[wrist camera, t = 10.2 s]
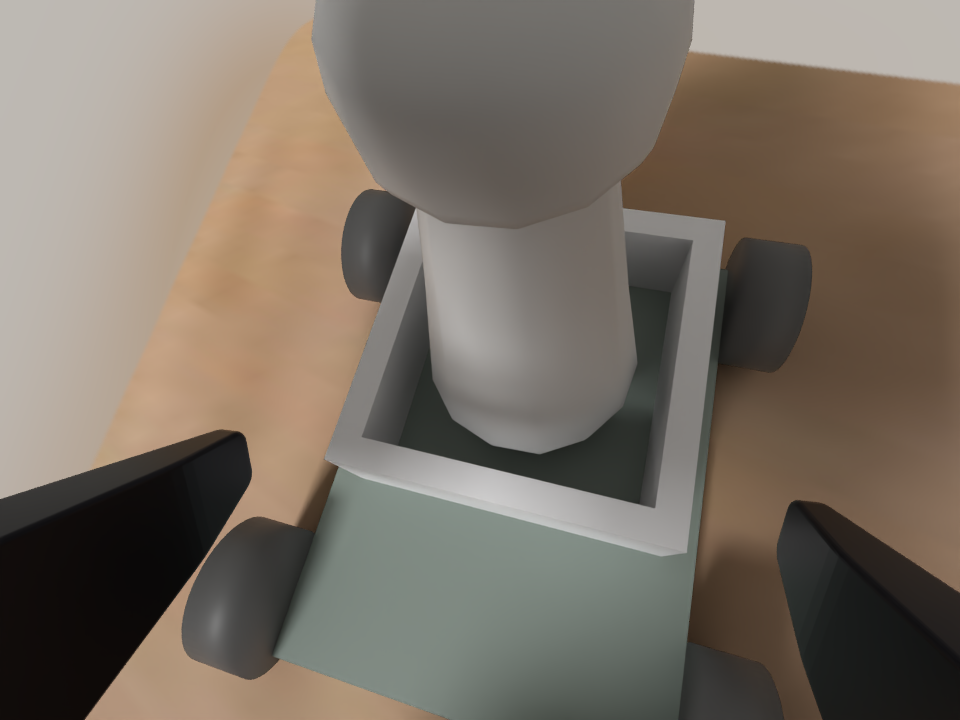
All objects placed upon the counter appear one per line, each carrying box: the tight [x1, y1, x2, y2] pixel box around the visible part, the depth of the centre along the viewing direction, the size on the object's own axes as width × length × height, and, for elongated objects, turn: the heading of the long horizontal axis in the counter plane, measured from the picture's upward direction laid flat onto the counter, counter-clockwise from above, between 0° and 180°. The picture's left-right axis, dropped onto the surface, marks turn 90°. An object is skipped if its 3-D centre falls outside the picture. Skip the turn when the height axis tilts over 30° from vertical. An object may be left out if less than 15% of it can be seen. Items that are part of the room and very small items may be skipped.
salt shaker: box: [312, 0, 694, 454], centre depth 11 cm, size 6×6×13 cm
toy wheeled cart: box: [182, 189, 812, 720], centre depth 16 cm, size 16×14×4 cm
